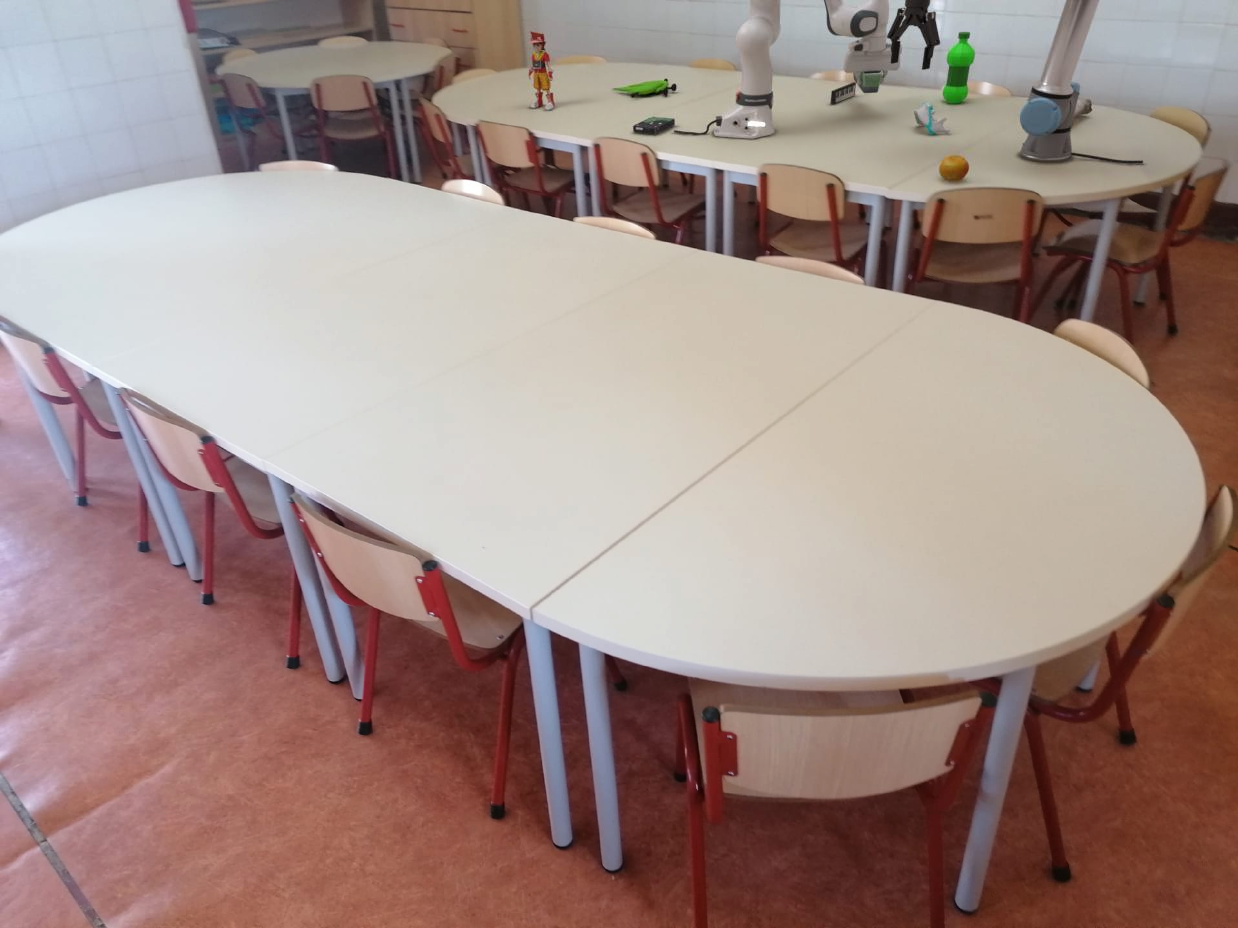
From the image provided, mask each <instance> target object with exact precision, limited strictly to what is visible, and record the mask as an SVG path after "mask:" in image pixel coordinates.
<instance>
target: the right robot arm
mask: <svg viewBox="0 0 1238 928" xmlns="http://www.w3.org/2000/svg"><path fill="white" fill-rule="evenodd" d="M1099 3H1100V0H1065V2H1064V5H1063V8H1062V12H1061V14H1060V18H1059V21H1058V23H1057V27H1056V30H1055V34H1054V36H1053V39H1052V42H1051V45H1050V48H1049V51H1048V54H1047V57H1046V60H1045V63H1044V67H1043V70H1042V73H1041V76H1040V78H1039V80H1038V81H1036V82H1034V83H1033V84H1032V85H1031V86H1032V87H1031V89H1030V92H1029V96H1028V99H1027V101H1026V102H1025V104H1024V105H1023V107H1022V108H1021V111H1020V114H1019V123H1020V127H1021V128H1022V129H1023V131H1024V132H1025V133H1027V134H1028V135H1027V137H1026V139H1025V141H1024V142H1023V143H1022V146H1021V148H1020V153H1019V156H1020V157H1021V158H1023V159H1025V160H1027V161H1031V162H1036V163H1062V162H1066V161H1069V160H1070V159H1071V157H1072V156H1073V157H1078V158H1079V157H1080V158H1086V159H1092V160H1097V161H1104V162H1109V163H1115V164H1144V160H1127V159H1125V160H1124V159H1115V158H1109V157H1103V156H1097V155H1091V154H1085V153H1078V152H1073V149H1072V139H1071V130H1072V126H1073V122H1074V120H1073V118H1074V113H1075V109H1076V105H1077V100H1078V98H1079V96H1080V90H1081V85H1080V83H1078V82H1076V81H1073V78H1074V75H1075V72H1076V69H1077V66H1078V63H1079V60H1080V57H1081V54H1082V51H1083V49H1084V46H1085V43H1086V40H1087V38H1088V34H1089V31H1090V29H1091V25H1092V23H1093V20H1094V17H1095V14H1096V12H1097V9H1098V5H1099ZM930 5H931V0H904V7H900V8H897V12H896V16H895V18H894V20H893V22H892V25H891V27H890V29H889V30H888V32H887V39H890V41H891V42H890V43H891V52H892V54H891V64H893V63H898V59H899V50H900V45H901V37H903V35H904V33H906V31H907V30H908V28H909V27H910V26H913V27H917V29H919V30H920V33H921V35H922V37H923V40H924V42H925V45H926V46H925V47H924V50H923V56H922V57H923V58H922V65H921V70H922V71H923V70H925V71H926V70H930V69H931V62H932V59H933V57H934V51H935V47H936V46H940V45H941V40H940V35H939V29H938V25H937V19H936V17H937V12H936V11H930V12H929V7H930Z"/></svg>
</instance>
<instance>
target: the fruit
mask: <svg viewBox="0 0 1238 928" xmlns="http://www.w3.org/2000/svg"><path fill="white" fill-rule="evenodd" d="M969 171H970V164H969V162H968V160H967V159H966V158H965V157H964V156H961V155H957V154H955V155H949V156H947V157H945V158H943V159H942V160H941V162H940V164H939V167H938V173H939V176H940V177H941V178H942V179H944V180H945V181H949V182H959V181H960V180H963V179H964V178H965V177H966V176H967V175H968V173H969Z"/></svg>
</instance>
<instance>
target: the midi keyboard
mask: <svg viewBox="0 0 1238 928" xmlns="http://www.w3.org/2000/svg"><path fill="white" fill-rule="evenodd" d="M856 86H857V83H856V82H855V81H854V82H850V83H848V84H846V85H842V86H841V87H838V88H835V89H833V90H831V94H830V105H835V104H837V103H839V102H841V101H843V100H846V99H848V98H851V97H853V96H856Z"/></svg>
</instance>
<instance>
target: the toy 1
mask: <svg viewBox="0 0 1238 928" xmlns="http://www.w3.org/2000/svg"><path fill="white" fill-rule="evenodd" d="M529 33H530V35H531V36H528V37H527V38H528V39H529V40H528V41H527V43H529V44H530V43H531V44H532V48H533V50H534V51H533V52H532V55H531V58H530V59H531V63H530V66H528V74H527V75H528V76H527V77H528V79H529V80H531V75H532V74H533V84H532V85H533V86H532V87H533V88H534V89H535V90H536V92H534V95H535V97H536V100H535V101H533V102H531V105H530V108H531V109H535V108H538V107H542V106H544V101H543V100H544V99H543V95H544V92H546V94H545V97H546V99H547V103H546V104H545V106H544V110H546V111H549V110H553V109H554V107H555V106H556V105H555V99H554V92H551V91H550V90H551V86H552V84H551V82H552V81H553V80H554V77H553V73H554V71H555V70H554V69H552V68H551V63H550V61H551V59H550V58H551V57H550V54H549V53H548V52H547V50H546V48H545V46H546V44H547V41H545V35H544V33H543V32H542V33H539V32H535V31H529Z"/></svg>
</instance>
